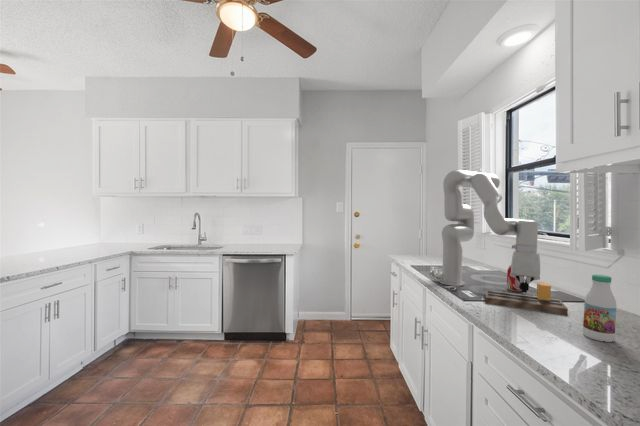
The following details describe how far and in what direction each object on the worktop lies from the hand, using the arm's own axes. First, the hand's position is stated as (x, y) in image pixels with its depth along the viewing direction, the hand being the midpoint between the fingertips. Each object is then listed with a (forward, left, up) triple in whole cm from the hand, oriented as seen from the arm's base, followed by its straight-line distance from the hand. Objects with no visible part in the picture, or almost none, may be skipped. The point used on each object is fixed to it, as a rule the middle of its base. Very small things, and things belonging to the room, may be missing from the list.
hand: (523, 291), depth 133 cm
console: (0, 0, -5) cm, 5 cm away
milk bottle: (+18, -28, -6) cm, 34 cm away
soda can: (-1, +25, -6) cm, 26 cm away
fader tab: (+7, 0, -3) cm, 7 cm away
